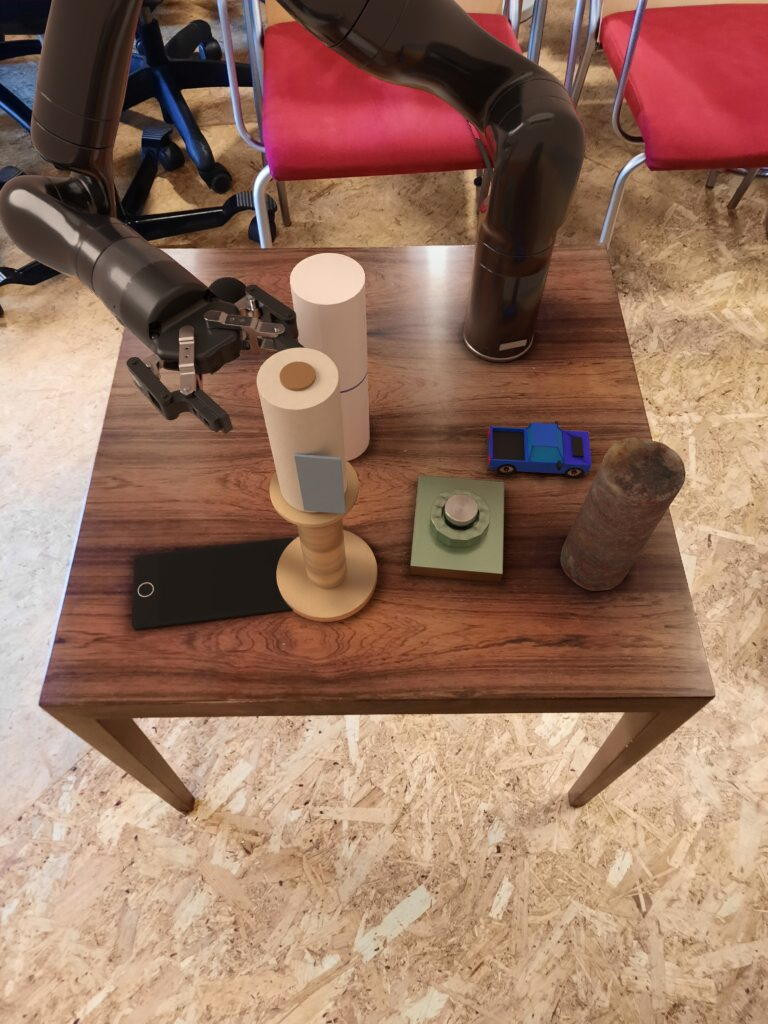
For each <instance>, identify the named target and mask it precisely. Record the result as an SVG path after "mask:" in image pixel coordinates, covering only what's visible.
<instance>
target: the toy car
mask: <svg viewBox="0 0 768 1024" xmlns="http://www.w3.org/2000/svg"><path fill="white" fill-rule="evenodd" d="M590 443H591V442H590V435H589V431H585V430H584V431H583V430H566V429H565V430H564V429H563V428H561V427H560V426H559V421H554V423H545V422H531V423H529V425H528V426H526V427H507V426H492V425H491V426H489V428H488V431H487V434H486V462H487V463H486V471H491V472H492V471H496V473H497V474H499V475H500V476H511V475H514V474H515V473H516V472H521V473H522V472H524V473H525V472H526V473H544V474H559V475H560V474H561V475H564V476H565V477H566V478H568V479H574V480H575V479H579V478H581V477H590V474H591V468H592V455H591V445H590Z"/></svg>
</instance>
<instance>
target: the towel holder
mask: <svg viewBox="0 0 768 1024" xmlns="http://www.w3.org/2000/svg"><path fill="white" fill-rule="evenodd" d="M346 471H347V489H346V492H345V494H344V497H345V508H346V514H339V513H327V512H304V511H300V510H298V509H295V508H294V507H292V506H291V505H289V504H288V503H287V502H286V501H285V499H284V498H283V496H282V494H281V490H280V486H279V481H278V477H277V472H276V470H275V471H274V472H273V474H272V476H271V479H270V483H269V488H268V489H269V497H270V501H271V504H272V506H273V508H274V510H275V511H276V513H277V514H278V515H279V516H280V517H282V518H283V519H284V520H285V521H287V522H288V523H290V524H293V525H295V526H296V527H297V532H298V536H297V537H296V538H294V539H295V540H293V541H292V542H291V543H290V544H289V545H288V546H287V548H286V549H285V550H284V552H283V553H282V555H281V557H280V559H279V562H278V566H277V584H278V587H279V590H280V593H281V595H282V597H283V599H284V600H285V602H286V603H287V604H288V605H289V606H290V607H291V608H292V609H293V611H292V612H294V613H295V614H296V615H298V616H300V617H302V618H304V619H306V620H307V619H308V620H310V621H314V622H319V623H331V622H337V621H342V620H345V619H348V618H350V617H352V616H354V615H355V614H356V613H359V612H360V611H361V610H362V609H363V608H364V607H365V606H366V605H367V604H368V603H369V601H370V600H371V599H372V597H373V595H374V593H375V590H376V588H377V583H378V564H377V563H378V562H377V560H376V557H375V554H374V552H373V550H372V549H371V546H369V545H368V543H367V542H366V541H365V540H364V539H363V538H362V537H360V536H358V535H357V534H355V533H353V532H351V531H349V530H346V529H344V524H343V518H345V516H347V515H348V514H349V513H350V512H351V511H352V509H353V508H354V506H355V505H356V503H357V500H358V498H359V492H360V483H359V477H358V474H357V472H356V470H355V468H354V467H353V466H352V464H351V463H350V462H349V460H348V461H346Z"/></svg>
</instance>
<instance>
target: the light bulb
mask: <svg viewBox="0 0 768 1024" xmlns="http://www.w3.org/2000/svg"><path fill="white" fill-rule="evenodd" d="M247 286H248V285H246V284H245V283H244V282H243V281H241V280H240V279H238V278H236V277H231V276H224V277H220V278H217V279H216V280H213V281H212V283H211V284H210V285H209V286H208V287H209V288H210V289H211V290H212V291H213V292H214V293H215V294H216V296H217V297H218V298H219V299H220V300H222V301H225V302H229V303H232V304H235V303H236V302H238V301H239V300H241V299H242V298H243V297H245V296H246V292H245V288H246V287H247ZM242 334H243V340H246V338H247V333H246V332H245V331H243V330H242Z"/></svg>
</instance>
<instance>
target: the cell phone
mask: <svg viewBox="0 0 768 1024" xmlns="http://www.w3.org/2000/svg"><path fill="white" fill-rule="evenodd" d="M295 539H296V538H295V537H292V536H291V537H281V538H273V539H263V540H256V541H248V542H247V541H246V542H239V543H232V544H231V543H230V544H223V545H215V546H205V547H197V548H189V549H180V550H172V551H163V552H155V553H147V554H139V555H136V557H135V558H134V561H133V580H132V581H133V583H132V601H131V602H132V604H131V605H132V606H131V627H132V629H133V630H134V631H145V630H151V629H152V630H153V629H161V628H167V627H176V626H183V625H191V624H201V623H209V622H215V621H217V622H218V621H225V620H231V619H240V618H249V617H256V616H257V617H258V616H265V615H269V614H279V613H287V612H294V611H293V609H292V608H291V607H290V606H289V605H288V604H287V603H286V602H285V600H284V599H283V597H282V595H281V593H280V590H279V587H278V584H277V566H278V562H279V559H280V557H281V555H282V553H283V552H284V550H285V549H286V548H287V546H288V545H289V544H290V543H291V542H292V541H293V540H295Z"/></svg>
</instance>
